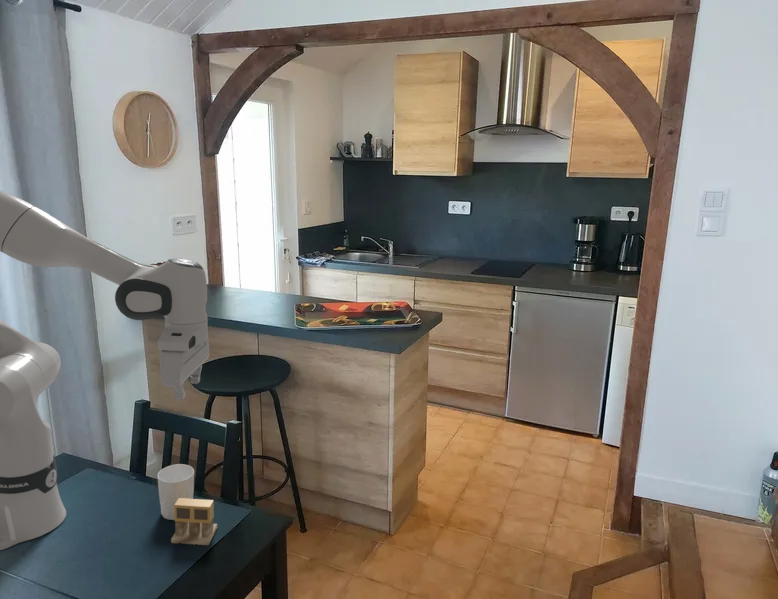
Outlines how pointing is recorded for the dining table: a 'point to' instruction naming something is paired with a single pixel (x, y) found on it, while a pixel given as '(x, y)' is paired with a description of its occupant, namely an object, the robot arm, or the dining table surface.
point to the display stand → (193, 533)
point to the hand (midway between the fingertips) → (188, 390)
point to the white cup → (174, 487)
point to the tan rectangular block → (194, 510)
